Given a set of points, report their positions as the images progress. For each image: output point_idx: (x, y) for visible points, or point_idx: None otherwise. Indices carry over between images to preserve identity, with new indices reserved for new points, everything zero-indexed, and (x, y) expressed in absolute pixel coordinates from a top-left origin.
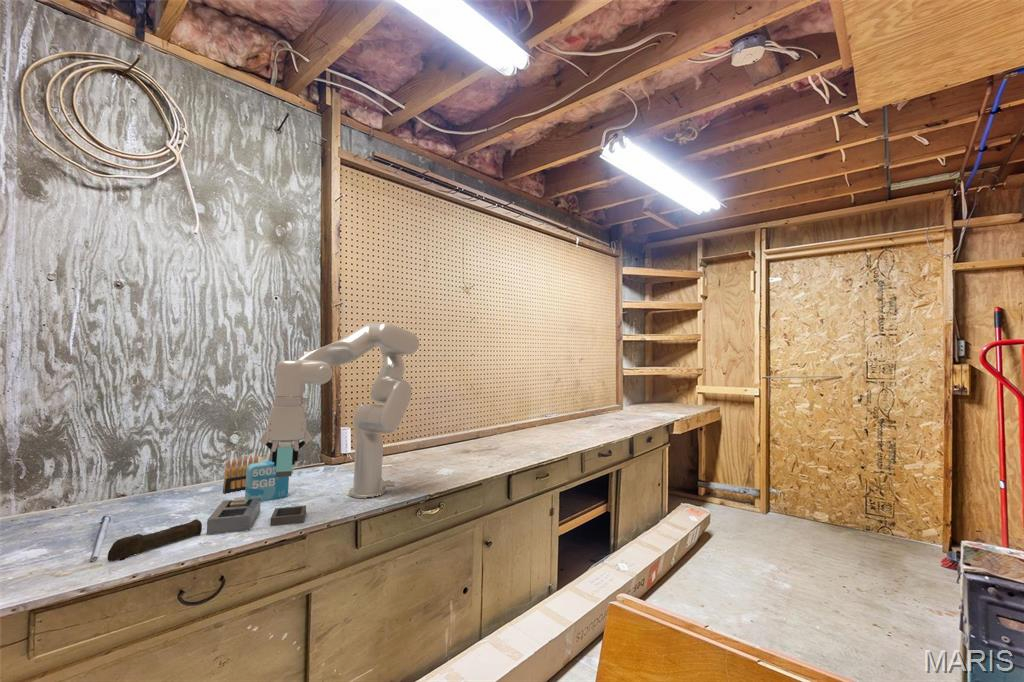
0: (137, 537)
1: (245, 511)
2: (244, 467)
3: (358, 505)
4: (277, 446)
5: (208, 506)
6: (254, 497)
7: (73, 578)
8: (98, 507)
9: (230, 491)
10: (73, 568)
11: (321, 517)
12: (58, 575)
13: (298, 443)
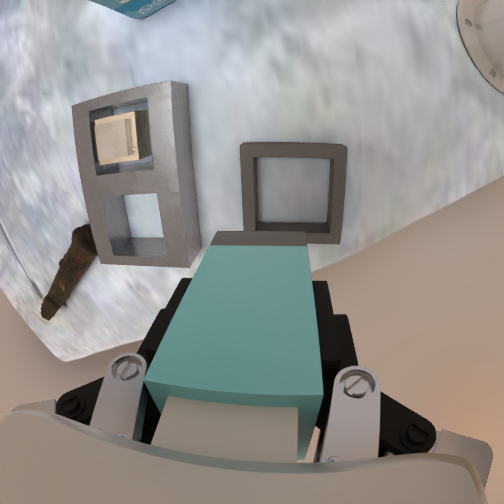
0: (54, 312)
1: (163, 226)
2: None
3: (481, 142)
4: (147, 395)
5: (57, 45)
6: (146, 7)
7: (60, 334)
8: None
9: None
10: (39, 308)
11: (386, 206)
12: (42, 320)
13: (367, 433)
